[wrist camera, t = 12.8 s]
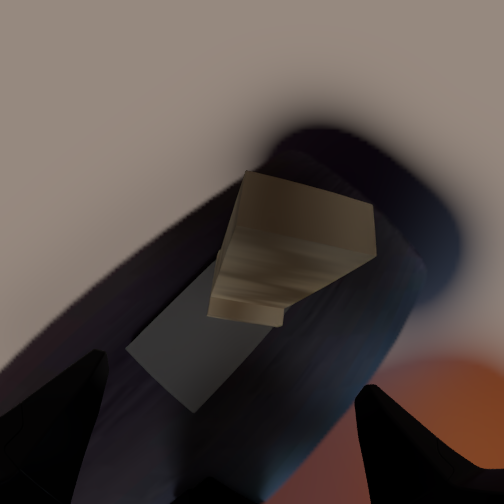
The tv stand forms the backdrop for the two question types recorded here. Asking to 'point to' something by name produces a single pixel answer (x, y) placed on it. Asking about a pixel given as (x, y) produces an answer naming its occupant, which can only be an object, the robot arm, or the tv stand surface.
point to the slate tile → (194, 345)
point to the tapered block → (286, 247)
